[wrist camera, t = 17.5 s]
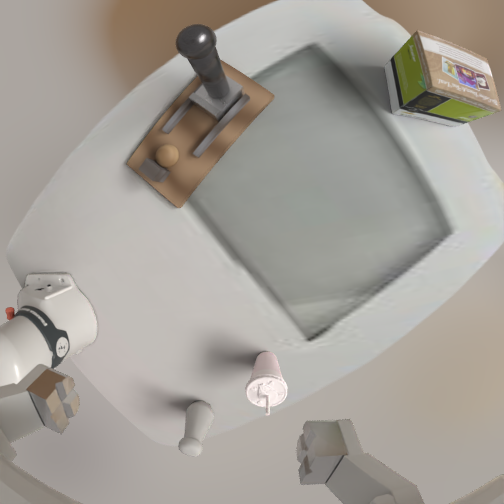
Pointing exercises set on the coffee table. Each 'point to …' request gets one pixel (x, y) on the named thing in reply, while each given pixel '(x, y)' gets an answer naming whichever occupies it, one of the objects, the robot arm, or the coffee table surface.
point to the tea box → (440, 82)
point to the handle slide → (208, 71)
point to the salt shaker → (196, 428)
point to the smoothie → (266, 382)
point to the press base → (194, 139)
